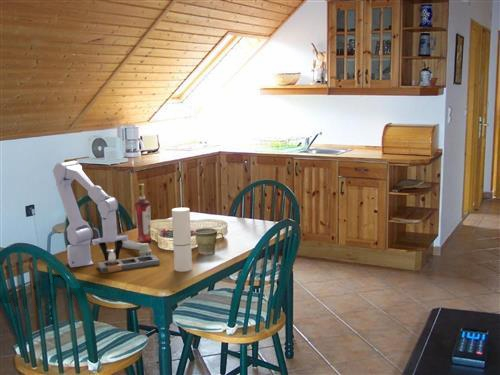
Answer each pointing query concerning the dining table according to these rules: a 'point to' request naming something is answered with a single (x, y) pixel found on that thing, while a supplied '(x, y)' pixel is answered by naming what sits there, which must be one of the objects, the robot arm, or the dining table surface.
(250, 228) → the dining table surface
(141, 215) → the liquor
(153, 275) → the dining table surface
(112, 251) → the peg
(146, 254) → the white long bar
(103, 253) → the robot arm
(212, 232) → the ceramic cup
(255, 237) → the dining table surface
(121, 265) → the grey slotted tray
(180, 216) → the cylindrical container
